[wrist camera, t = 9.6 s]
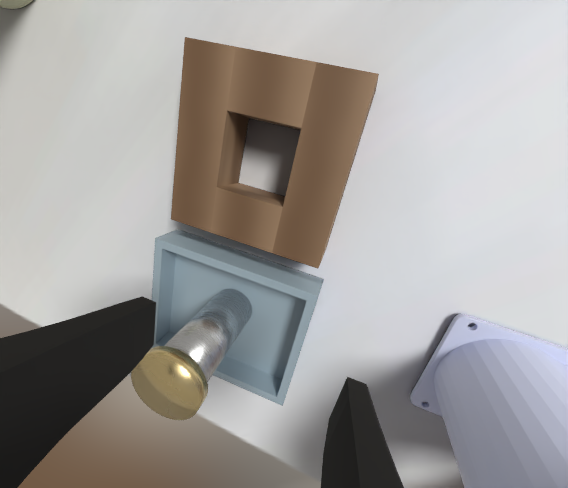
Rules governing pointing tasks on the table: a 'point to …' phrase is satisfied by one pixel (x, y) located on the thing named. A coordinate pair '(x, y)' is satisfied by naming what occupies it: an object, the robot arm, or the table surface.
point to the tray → (261, 293)
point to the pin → (191, 357)
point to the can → (14, 3)
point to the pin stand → (231, 139)
